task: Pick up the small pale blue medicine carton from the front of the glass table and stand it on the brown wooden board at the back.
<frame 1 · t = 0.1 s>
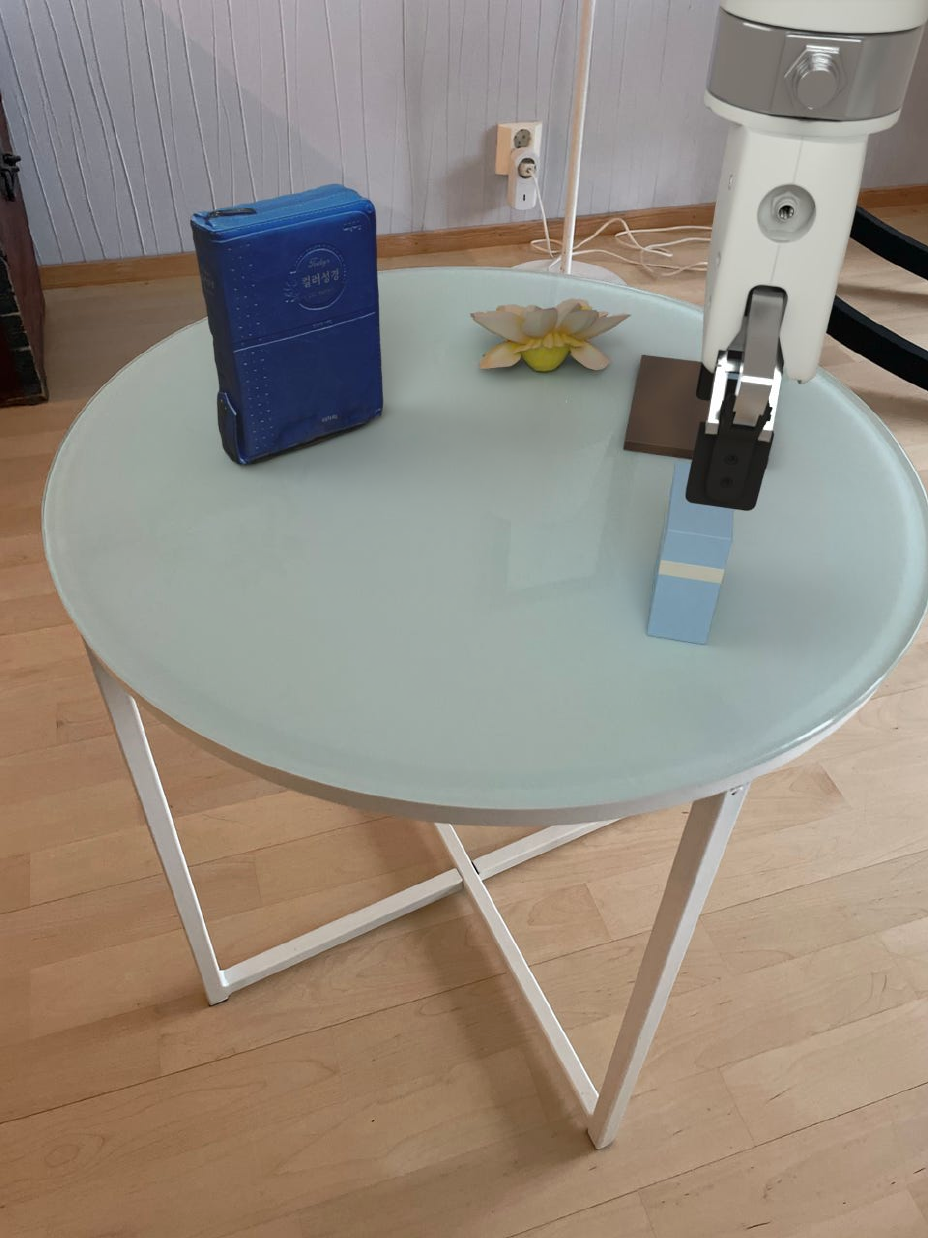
hand: (722, 448, 50), 19 cm above the table, tool pointing down, fingers open, 9 cm apart
decorative flower: (545, 363, 97), on the table
book: (303, 439, 86), on the table
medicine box: (679, 602, 71), on the table
brown wooden board: (698, 412, 90), on the table
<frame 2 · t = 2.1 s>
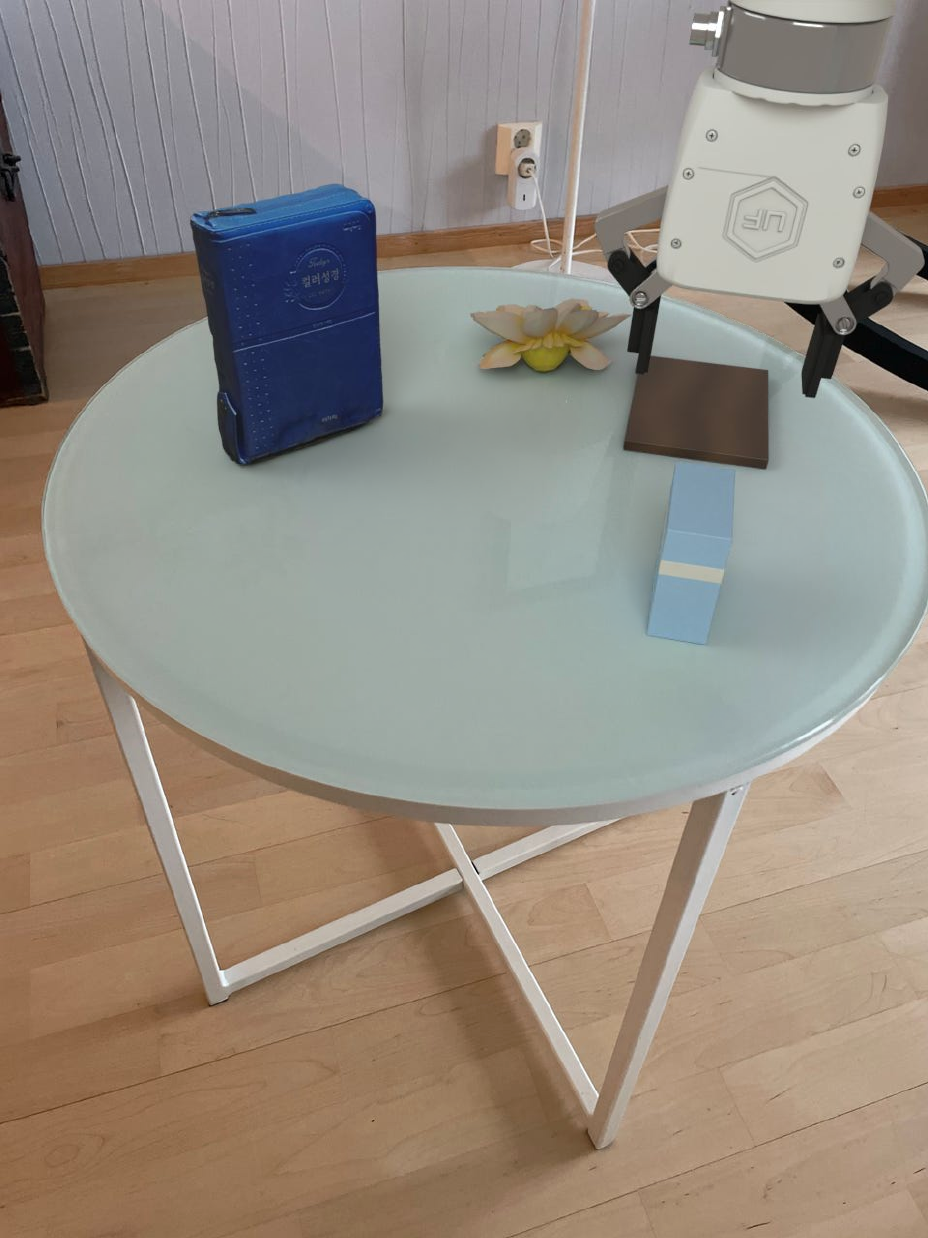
hand: (724, 374, 59), 18 cm above the table, tool pointing down, fingers open, 9 cm apart
nothing on the table moved.
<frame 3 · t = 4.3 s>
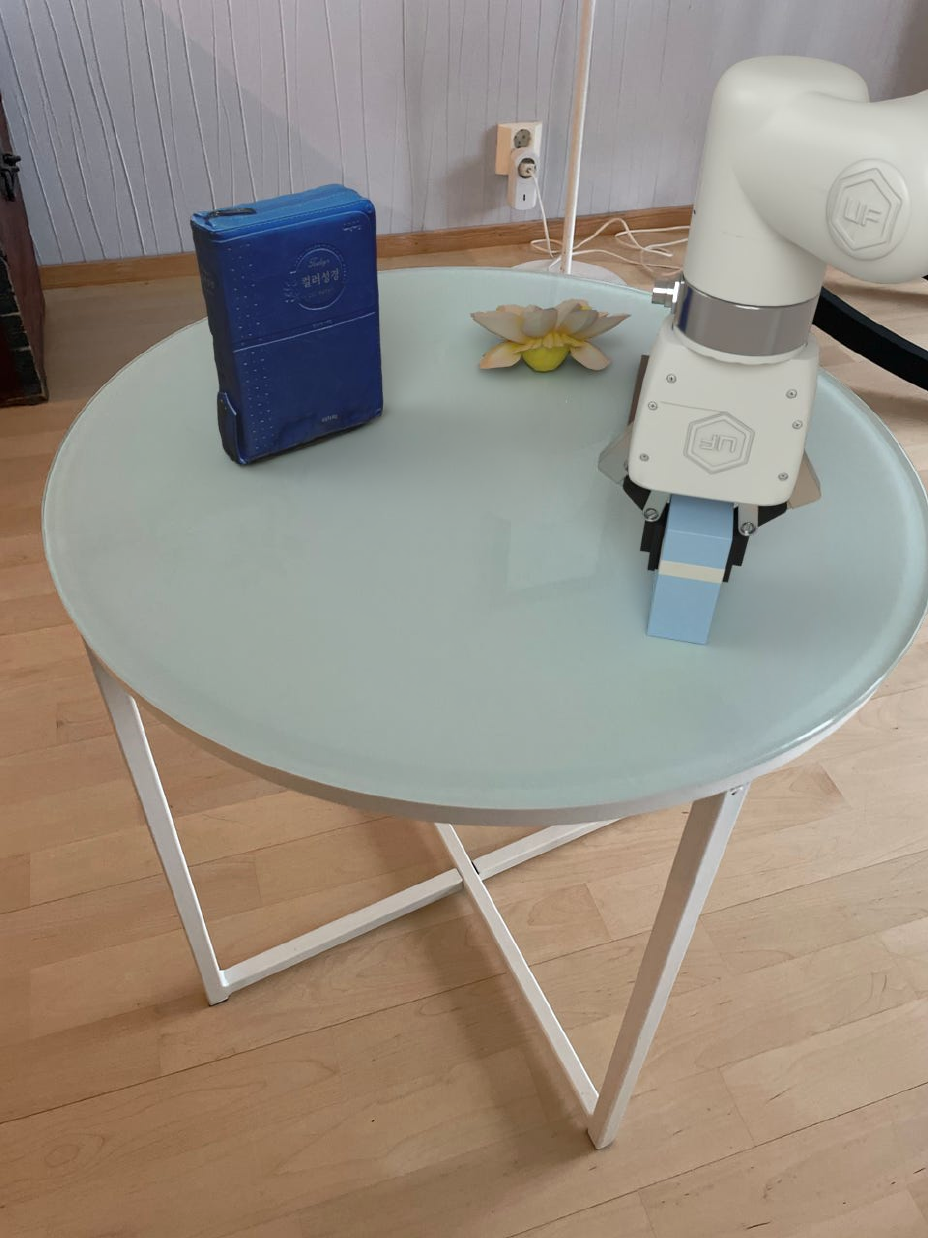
hand: (688, 561, 68), 4 cm above the table, tool pointing down, fingers closed on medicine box, 4 cm apart
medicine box: (679, 602, 71), on the table, touching gripper
everything else where it was.
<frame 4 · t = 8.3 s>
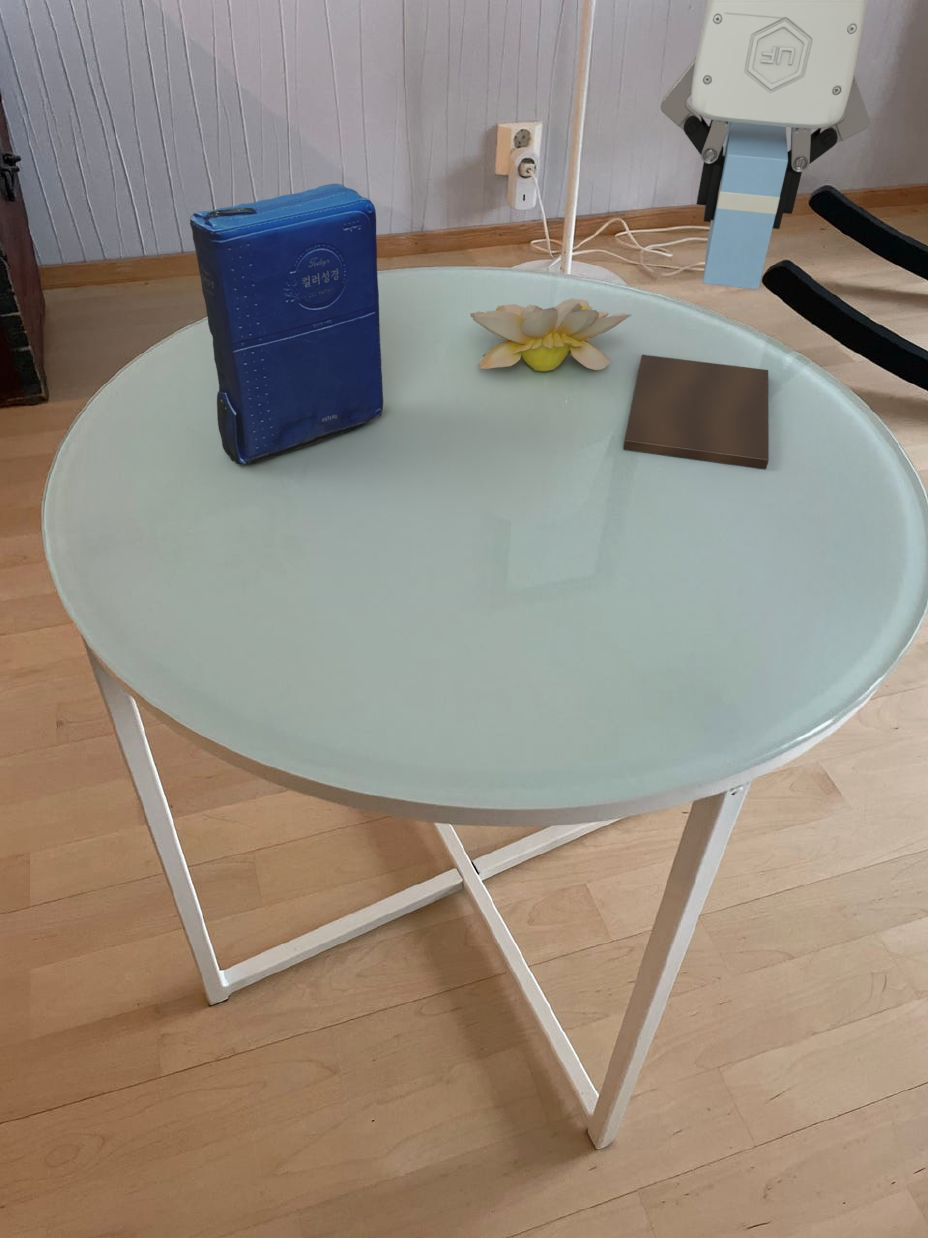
hand: (741, 215, 73), 20 cm above the table, tool pointing down, fingers closed on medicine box, 4 cm apart
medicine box: (731, 265, 76), point 16 cm above the table, touching gripper
everything else where it was.
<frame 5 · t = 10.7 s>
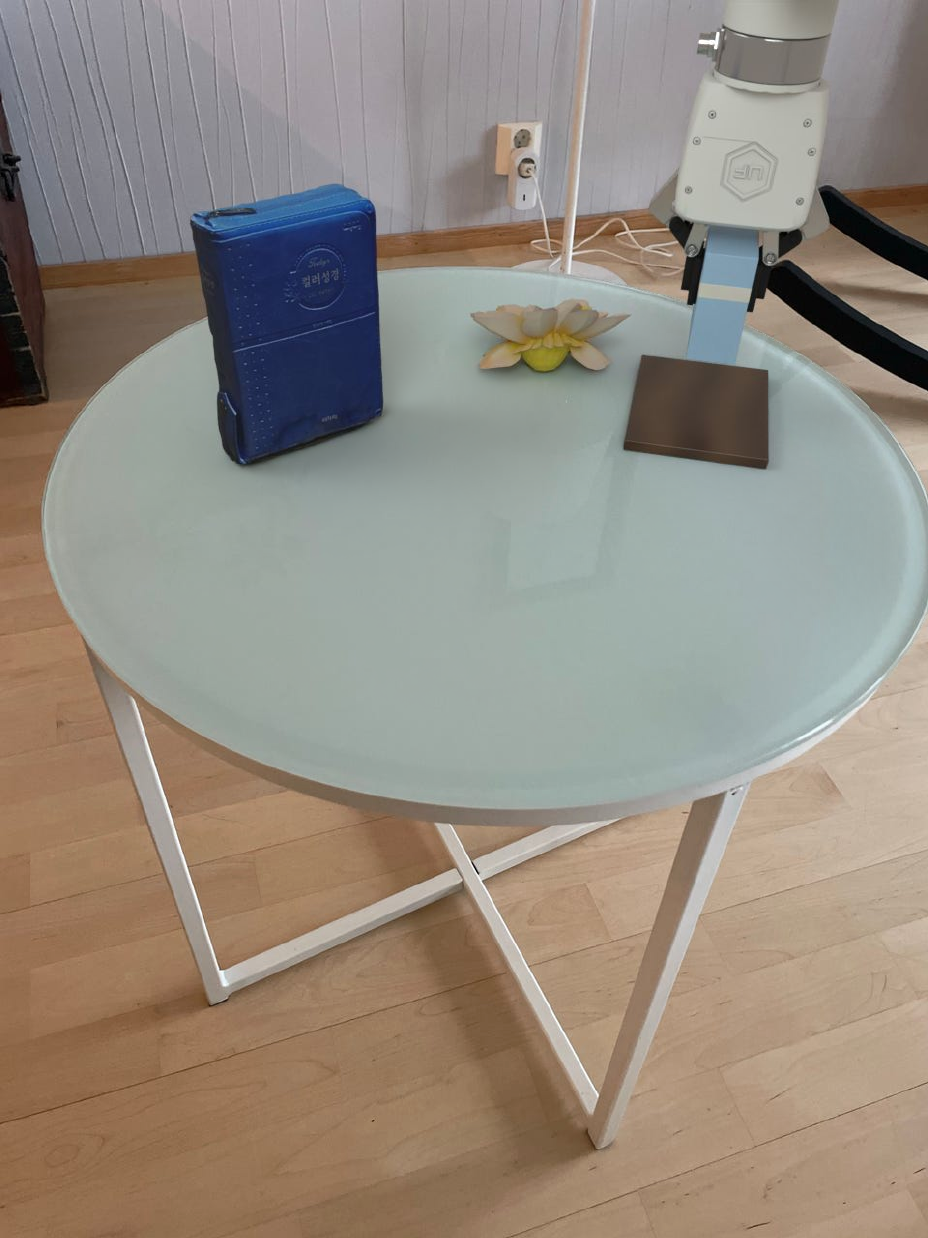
hand: (720, 299, 83), 11 cm above the table, tool pointing down, fingers closed on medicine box, 4 cm apart
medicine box: (712, 340, 86), point 7 cm above the table, touching gripper
everything else where it was.
when the fingers open (5 cm above the table, at t = 12.4 s): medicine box stays where it is, resting on brown wooden board.
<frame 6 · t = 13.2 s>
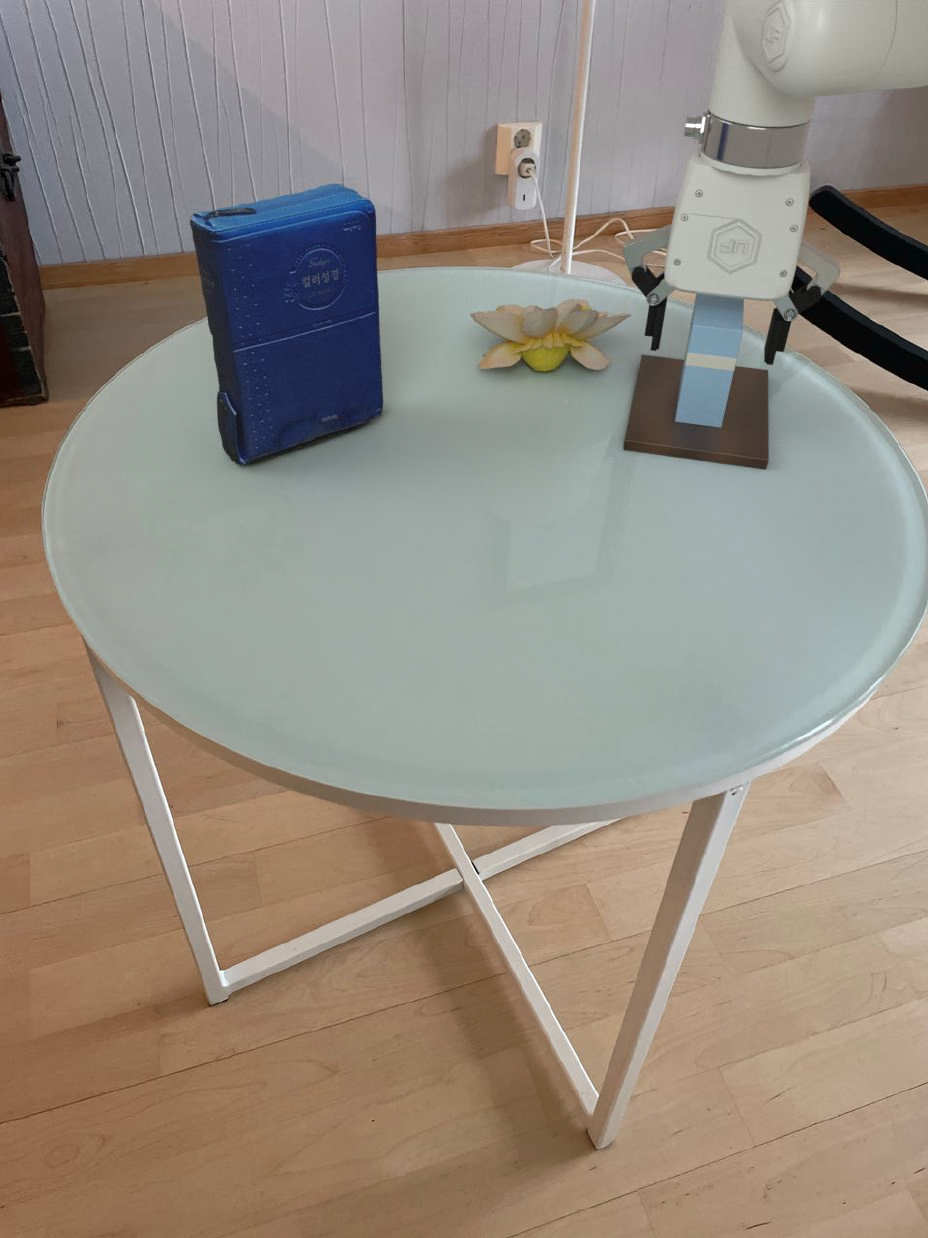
hand: (711, 350, 86), 6 cm above the table, tool pointing down, fingers open, 9 cm apart
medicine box: (700, 402, 90), point 1 cm above the table, touching brown wooden board
everything else where it was.
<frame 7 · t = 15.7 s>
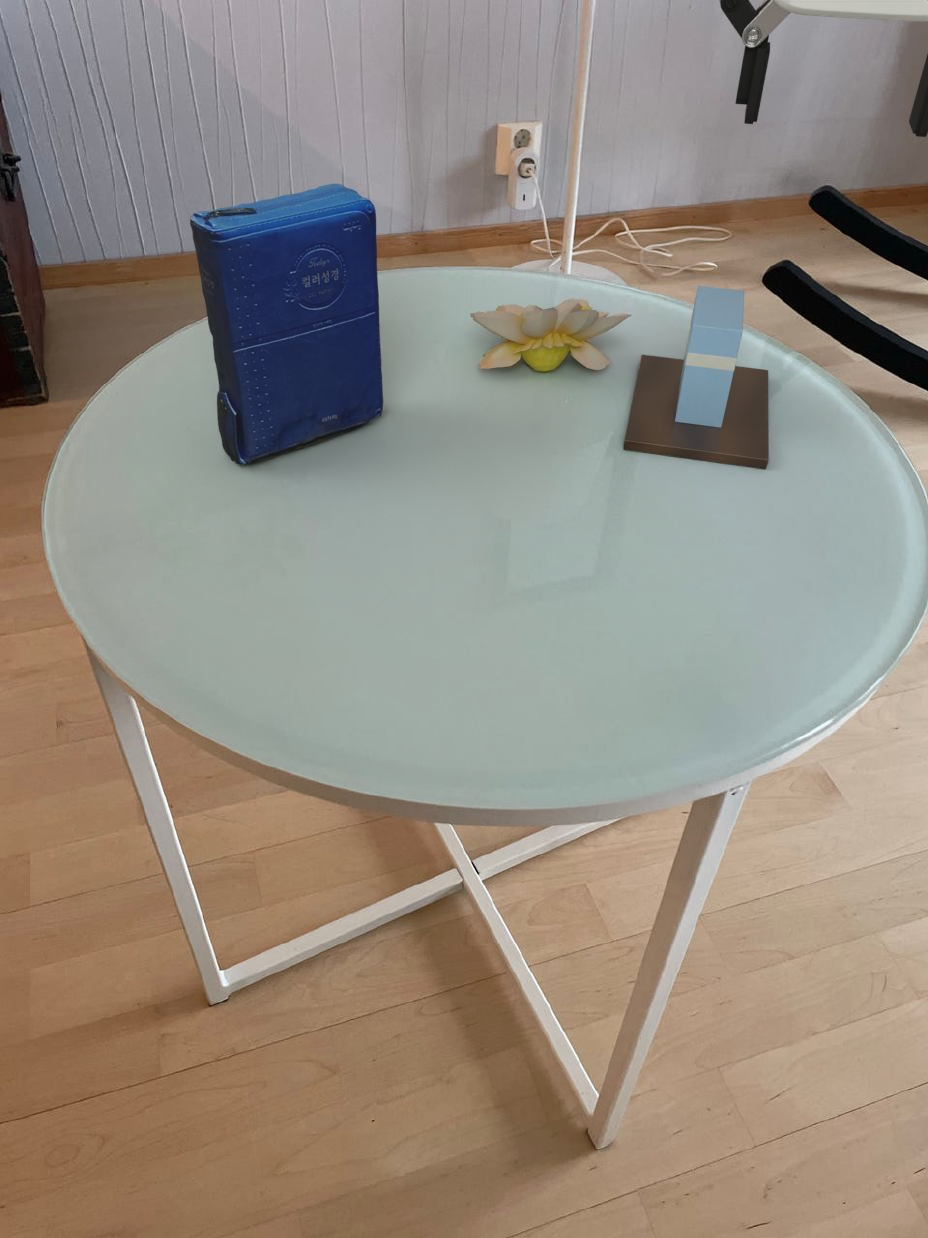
hand: (832, 123, 60), 29 cm above the table, tool pointing down, fingers open, 9 cm apart
nothing on the table moved.
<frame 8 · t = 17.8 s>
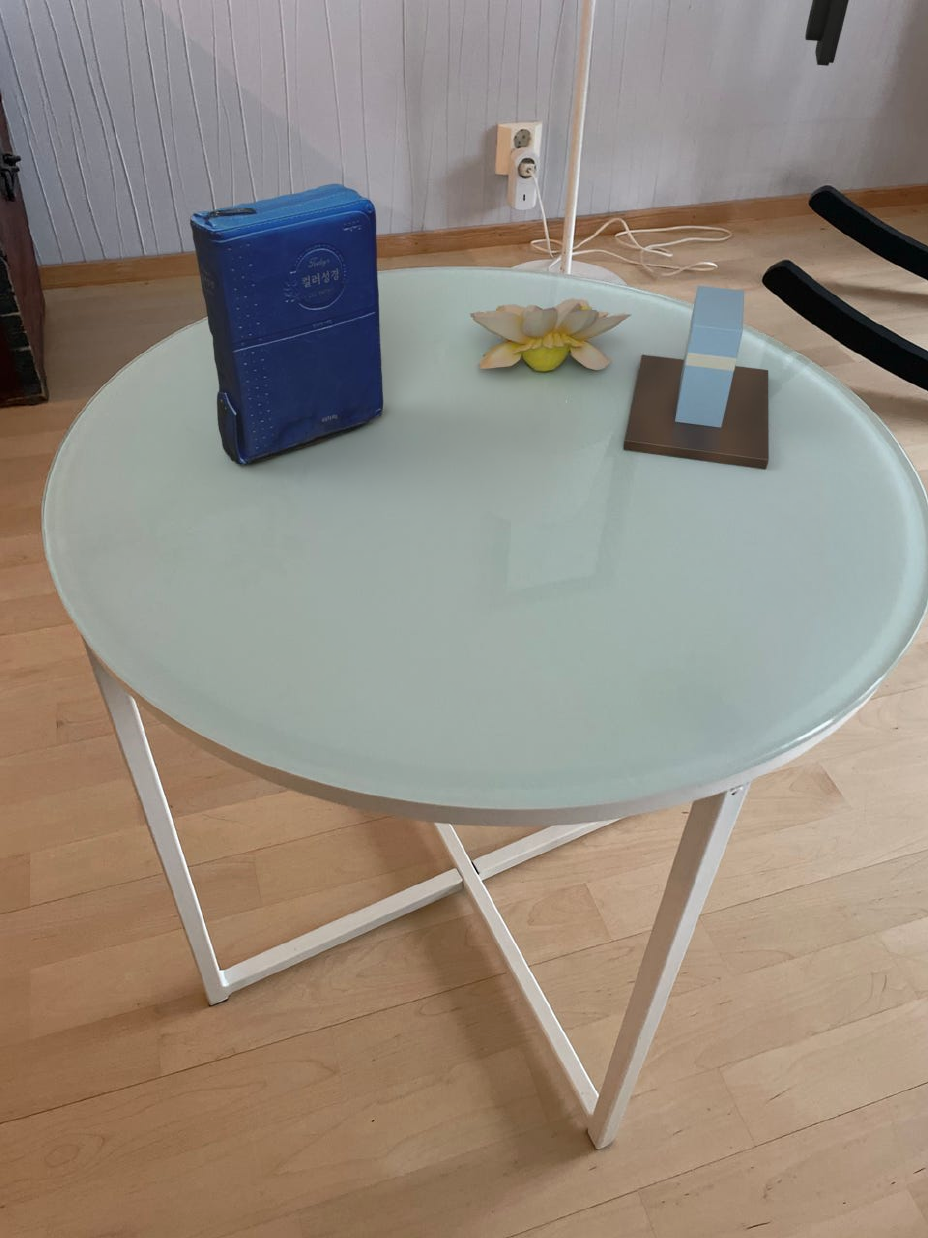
hand: (927, 66, 47), 34 cm above the table, tool pointing down, fingers open, 9 cm apart
nothing on the table moved.
at the end: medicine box inside the target area on the brown wooden board (0.1 cm from its centre), point 1.0 cm above the brown wooden board's base; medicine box tilted 0°; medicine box touching brown wooden board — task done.
